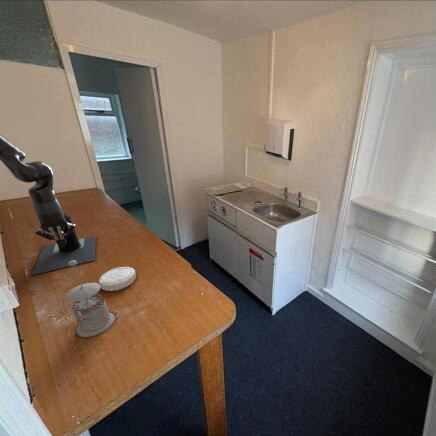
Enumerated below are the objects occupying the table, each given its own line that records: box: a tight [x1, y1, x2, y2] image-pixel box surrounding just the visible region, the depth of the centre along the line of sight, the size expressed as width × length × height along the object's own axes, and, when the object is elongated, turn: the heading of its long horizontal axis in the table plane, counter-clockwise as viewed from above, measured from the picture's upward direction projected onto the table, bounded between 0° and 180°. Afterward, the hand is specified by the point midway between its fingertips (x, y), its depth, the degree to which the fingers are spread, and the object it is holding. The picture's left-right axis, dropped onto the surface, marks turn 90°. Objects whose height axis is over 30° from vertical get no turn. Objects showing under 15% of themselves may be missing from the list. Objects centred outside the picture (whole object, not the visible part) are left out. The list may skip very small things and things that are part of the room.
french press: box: [61, 260, 116, 338], centre depth 71 cm, size 10×12×25 cm
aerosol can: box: [55, 213, 81, 252], centre depth 109 cm, size 8×8×20 cm
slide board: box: [32, 236, 96, 276], centre depth 110 cm, size 20×26×1 cm
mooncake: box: [98, 266, 137, 292], centre depth 94 cm, size 12×12×4 cm
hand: (63, 246), depth 104 cm, fingers closed
